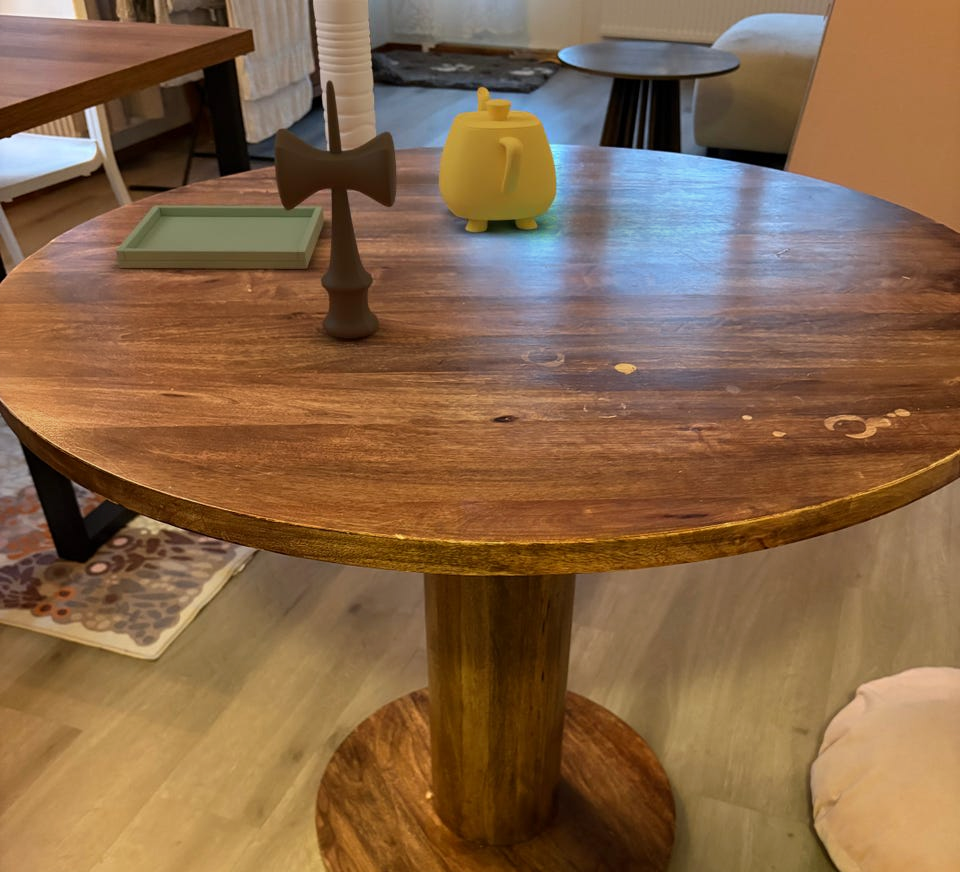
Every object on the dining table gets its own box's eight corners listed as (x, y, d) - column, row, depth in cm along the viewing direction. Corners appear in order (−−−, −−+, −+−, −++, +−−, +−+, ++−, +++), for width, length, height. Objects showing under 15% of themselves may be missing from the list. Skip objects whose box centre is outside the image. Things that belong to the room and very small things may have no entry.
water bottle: (327, 175, 123) (305, -59, 106) (375, 173, 124) (361, -59, 107) (333, 194, 116) (311, -52, 100) (384, 191, 117) (370, -53, 101)
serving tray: (119, 268, 96) (115, 250, 94) (157, 221, 107) (153, 205, 106) (307, 269, 96) (305, 251, 95) (324, 222, 108) (322, 206, 106)
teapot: (530, 190, 118) (534, 79, 110) (571, 241, 103) (579, 117, 95) (427, 195, 116) (424, 83, 108) (454, 248, 101) (452, 122, 93)
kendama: (302, 319, 86) (272, 72, 73) (404, 318, 86) (393, 72, 73) (294, 345, 81) (260, 88, 68) (402, 345, 82) (390, 88, 69)
